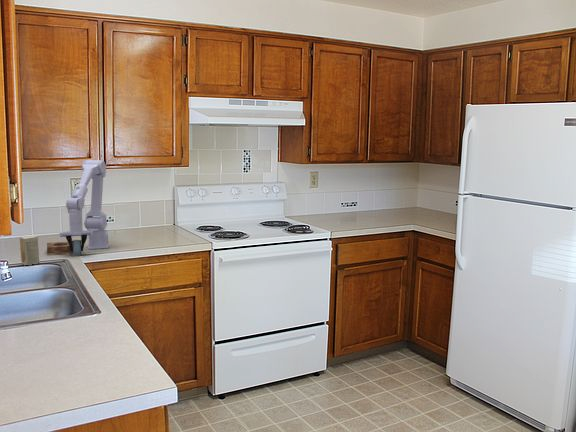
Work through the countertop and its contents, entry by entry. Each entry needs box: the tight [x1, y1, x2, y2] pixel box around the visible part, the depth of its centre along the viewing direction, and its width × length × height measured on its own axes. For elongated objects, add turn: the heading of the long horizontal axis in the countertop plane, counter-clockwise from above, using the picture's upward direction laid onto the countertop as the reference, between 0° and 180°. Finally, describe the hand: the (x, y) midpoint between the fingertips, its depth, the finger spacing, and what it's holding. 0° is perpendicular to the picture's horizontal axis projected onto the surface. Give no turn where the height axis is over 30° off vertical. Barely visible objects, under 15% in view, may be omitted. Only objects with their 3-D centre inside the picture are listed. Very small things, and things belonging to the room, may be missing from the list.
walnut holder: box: [46, 241, 73, 256], centre depth 276 cm, size 12×12×4 cm
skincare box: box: [19, 235, 40, 266], centre depth 250 cm, size 6×4×12 cm
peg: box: [72, 239, 83, 257], centre depth 270 cm, size 4×4×7 cm
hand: (77, 251), depth 270 cm, fingers closed on peg, 4 cm apart
